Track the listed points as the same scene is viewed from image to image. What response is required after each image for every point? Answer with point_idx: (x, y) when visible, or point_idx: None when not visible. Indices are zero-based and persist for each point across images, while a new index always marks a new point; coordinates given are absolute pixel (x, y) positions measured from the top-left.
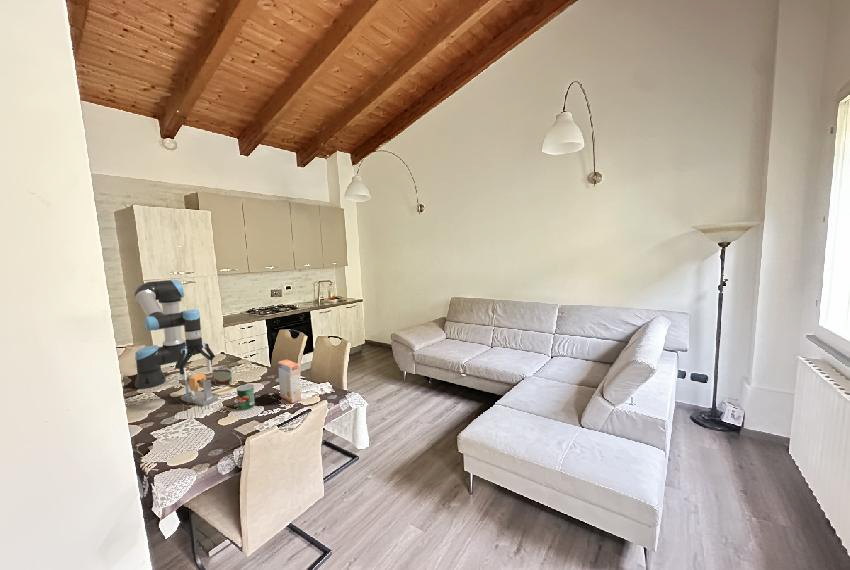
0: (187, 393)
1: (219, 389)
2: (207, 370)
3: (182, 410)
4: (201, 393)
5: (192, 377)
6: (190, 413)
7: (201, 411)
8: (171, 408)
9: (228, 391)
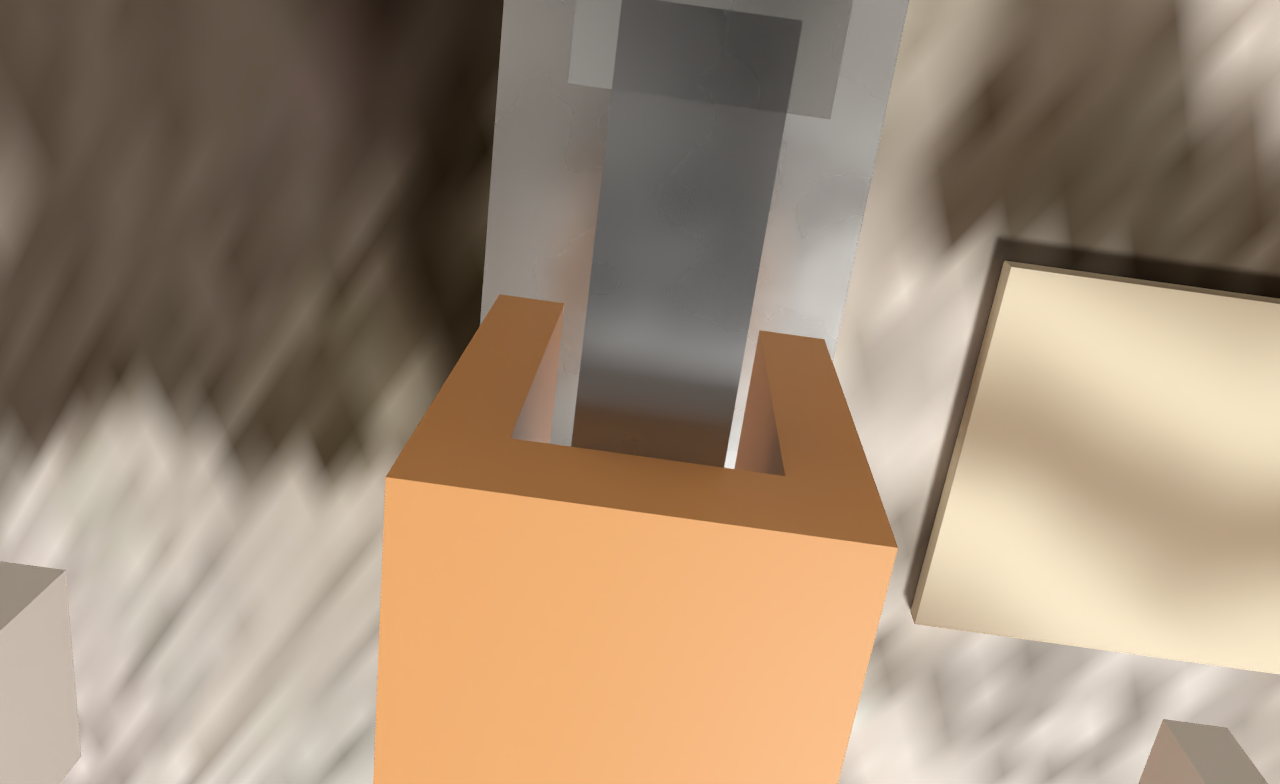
0: None
1: (1203, 343)
2: (1167, 756)
3: (210, 414)
4: (770, 307)
5: (429, 638)
6: (206, 641)
7: (330, 744)
8: (158, 106)
9: (1120, 612)
